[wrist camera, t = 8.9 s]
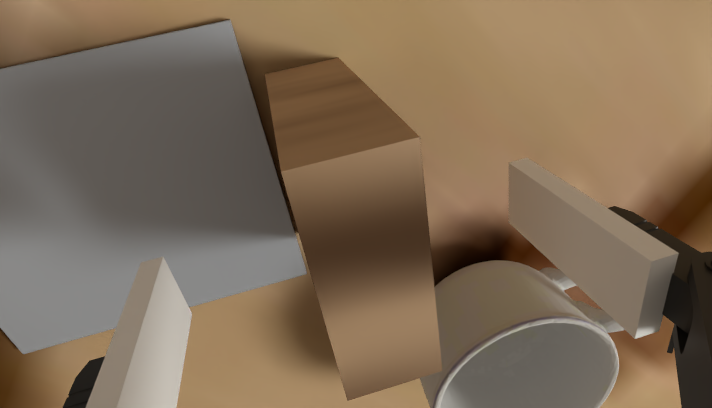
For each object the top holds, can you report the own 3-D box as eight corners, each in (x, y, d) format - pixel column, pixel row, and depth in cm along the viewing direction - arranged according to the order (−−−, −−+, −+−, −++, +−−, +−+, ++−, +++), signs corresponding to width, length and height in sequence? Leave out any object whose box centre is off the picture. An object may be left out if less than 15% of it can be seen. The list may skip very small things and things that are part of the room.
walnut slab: (367, 216, 24) (442, 371, 15) (308, 232, 24) (347, 400, 15) (338, 57, 20) (419, 136, 10) (264, 74, 19) (280, 171, 10)
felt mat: (306, 269, 25) (306, 273, 25) (26, 348, 24) (23, 354, 23) (230, 19, 18) (229, 20, 18) (-180, 107, 16) (-189, 110, 16)
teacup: (431, 377, 33) (479, 484, 26) (364, 294, 27) (404, 403, 20) (590, 285, 32) (684, 372, 25) (555, 179, 26) (664, 253, 19)
